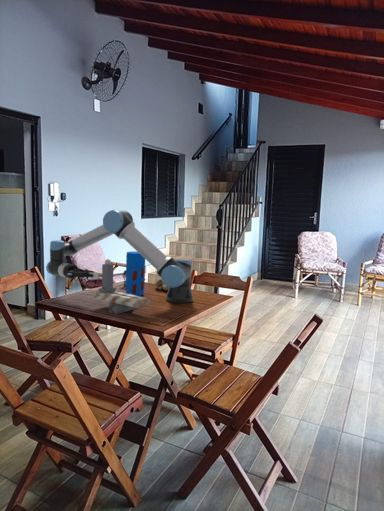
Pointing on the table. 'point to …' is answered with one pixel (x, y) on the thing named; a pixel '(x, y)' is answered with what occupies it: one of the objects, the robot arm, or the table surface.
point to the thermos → (135, 273)
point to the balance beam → (122, 301)
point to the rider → (107, 277)
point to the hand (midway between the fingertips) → (98, 276)
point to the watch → (124, 277)
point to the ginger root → (161, 285)
